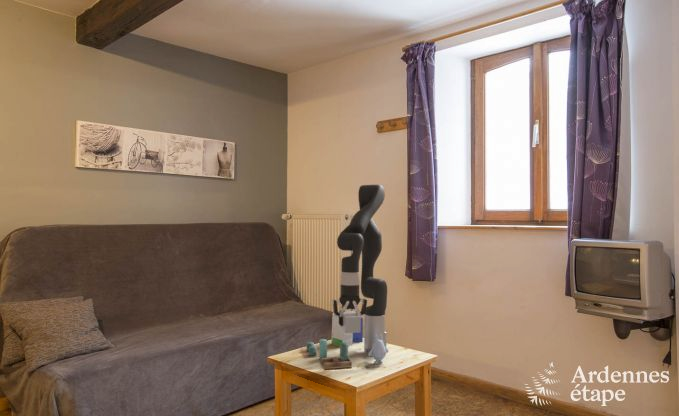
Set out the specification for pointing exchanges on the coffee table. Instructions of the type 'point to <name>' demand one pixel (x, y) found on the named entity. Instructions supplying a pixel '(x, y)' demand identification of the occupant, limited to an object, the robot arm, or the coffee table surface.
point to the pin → (322, 348)
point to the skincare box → (339, 333)
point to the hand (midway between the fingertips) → (349, 325)
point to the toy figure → (378, 350)
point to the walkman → (358, 334)
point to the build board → (338, 359)
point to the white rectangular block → (351, 322)
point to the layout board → (310, 351)
